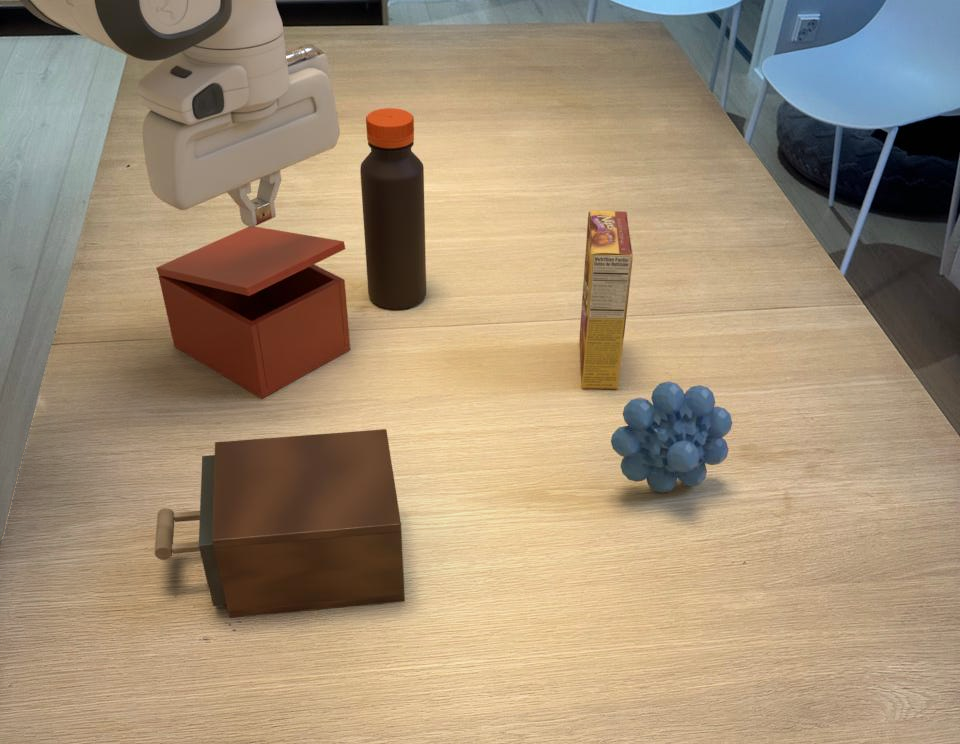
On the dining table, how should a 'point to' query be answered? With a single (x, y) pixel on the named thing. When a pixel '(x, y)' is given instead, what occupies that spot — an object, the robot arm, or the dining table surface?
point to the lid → (250, 259)
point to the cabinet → (307, 523)
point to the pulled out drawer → (205, 543)
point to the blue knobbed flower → (672, 436)
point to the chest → (261, 327)
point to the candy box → (604, 298)
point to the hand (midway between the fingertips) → (259, 221)
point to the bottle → (393, 211)
